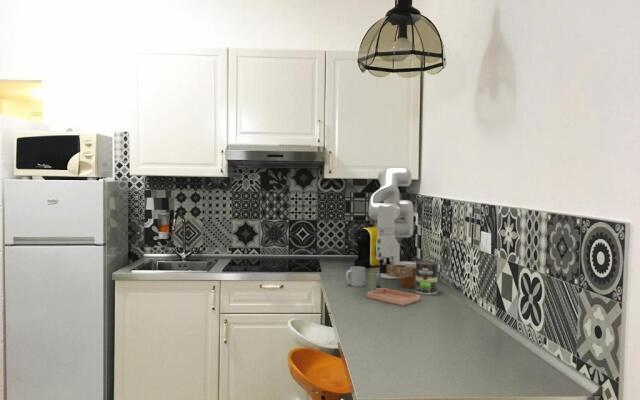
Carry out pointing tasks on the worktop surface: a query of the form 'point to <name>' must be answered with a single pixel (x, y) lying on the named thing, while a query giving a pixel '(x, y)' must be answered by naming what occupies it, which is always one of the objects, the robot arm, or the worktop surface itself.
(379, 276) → the grey piece
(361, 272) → the cup
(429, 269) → the coffee can
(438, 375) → the worktop surface
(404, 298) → the tray
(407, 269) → the brown square frame
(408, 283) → the disposable coffee cup
